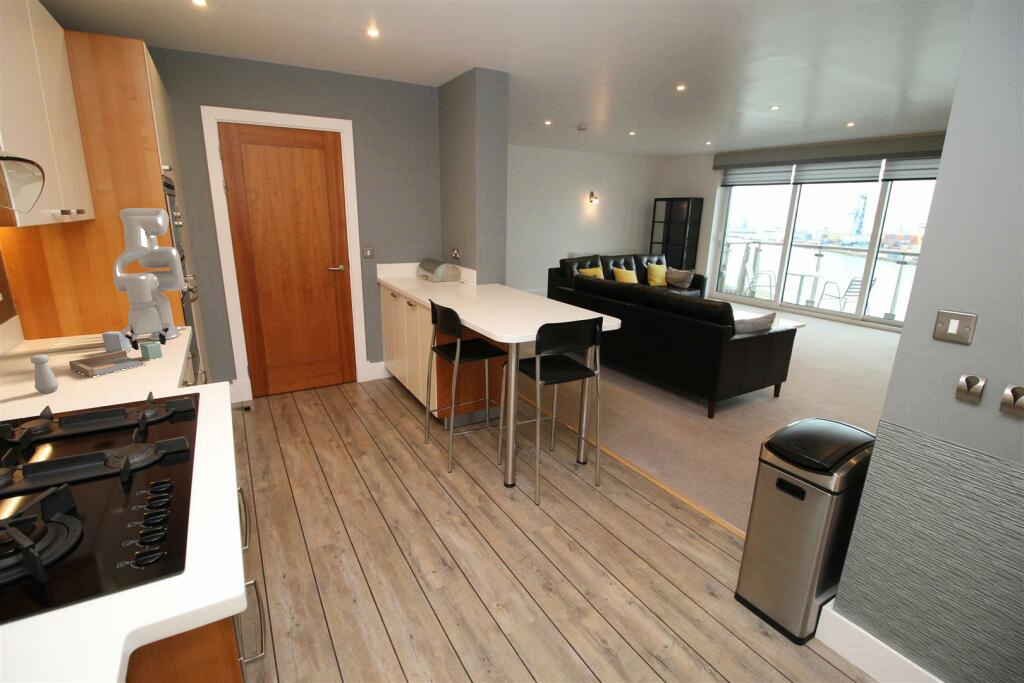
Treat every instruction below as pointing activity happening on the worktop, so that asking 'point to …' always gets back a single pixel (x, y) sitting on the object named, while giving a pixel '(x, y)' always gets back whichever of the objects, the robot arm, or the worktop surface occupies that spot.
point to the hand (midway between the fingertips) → (149, 346)
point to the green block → (151, 350)
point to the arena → (104, 363)
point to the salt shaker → (44, 375)
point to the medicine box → (115, 342)
